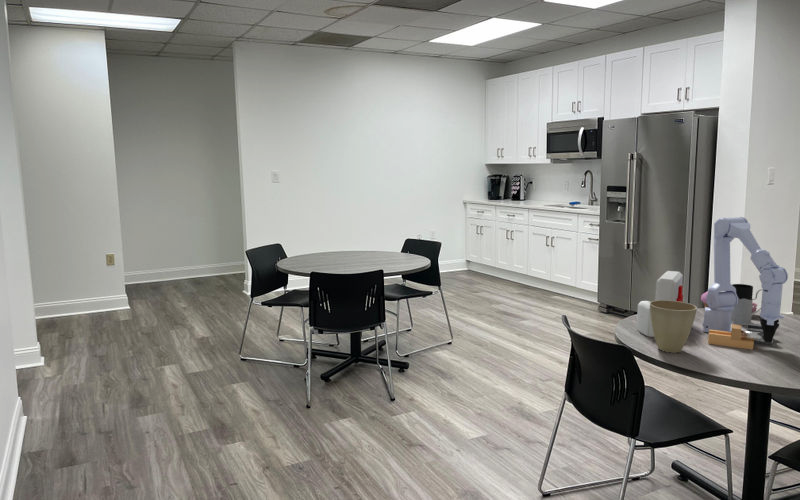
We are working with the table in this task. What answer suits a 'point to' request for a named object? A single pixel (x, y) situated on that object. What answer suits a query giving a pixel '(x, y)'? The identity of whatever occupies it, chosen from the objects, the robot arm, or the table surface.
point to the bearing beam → (730, 338)
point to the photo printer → (644, 319)
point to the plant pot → (671, 323)
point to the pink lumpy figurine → (754, 307)
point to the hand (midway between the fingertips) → (767, 340)
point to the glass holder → (743, 304)
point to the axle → (752, 336)
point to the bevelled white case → (669, 287)
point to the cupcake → (704, 300)
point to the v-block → (757, 329)
